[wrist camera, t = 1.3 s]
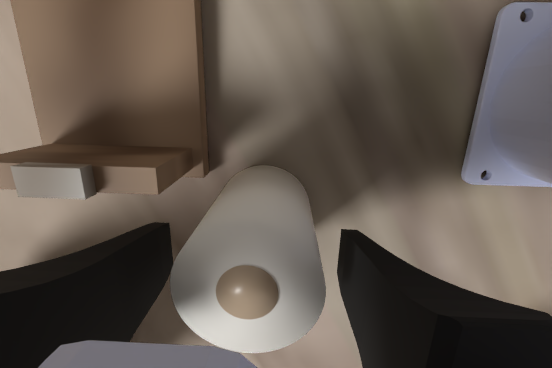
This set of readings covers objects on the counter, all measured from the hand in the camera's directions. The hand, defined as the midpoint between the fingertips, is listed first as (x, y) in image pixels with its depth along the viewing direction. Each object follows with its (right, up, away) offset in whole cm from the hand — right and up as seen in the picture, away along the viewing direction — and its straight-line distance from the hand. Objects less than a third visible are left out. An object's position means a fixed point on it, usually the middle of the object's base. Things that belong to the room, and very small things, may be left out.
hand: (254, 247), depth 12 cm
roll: (0, +1, +4) cm, 4 cm away
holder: (-7, +9, +2) cm, 11 cm away
